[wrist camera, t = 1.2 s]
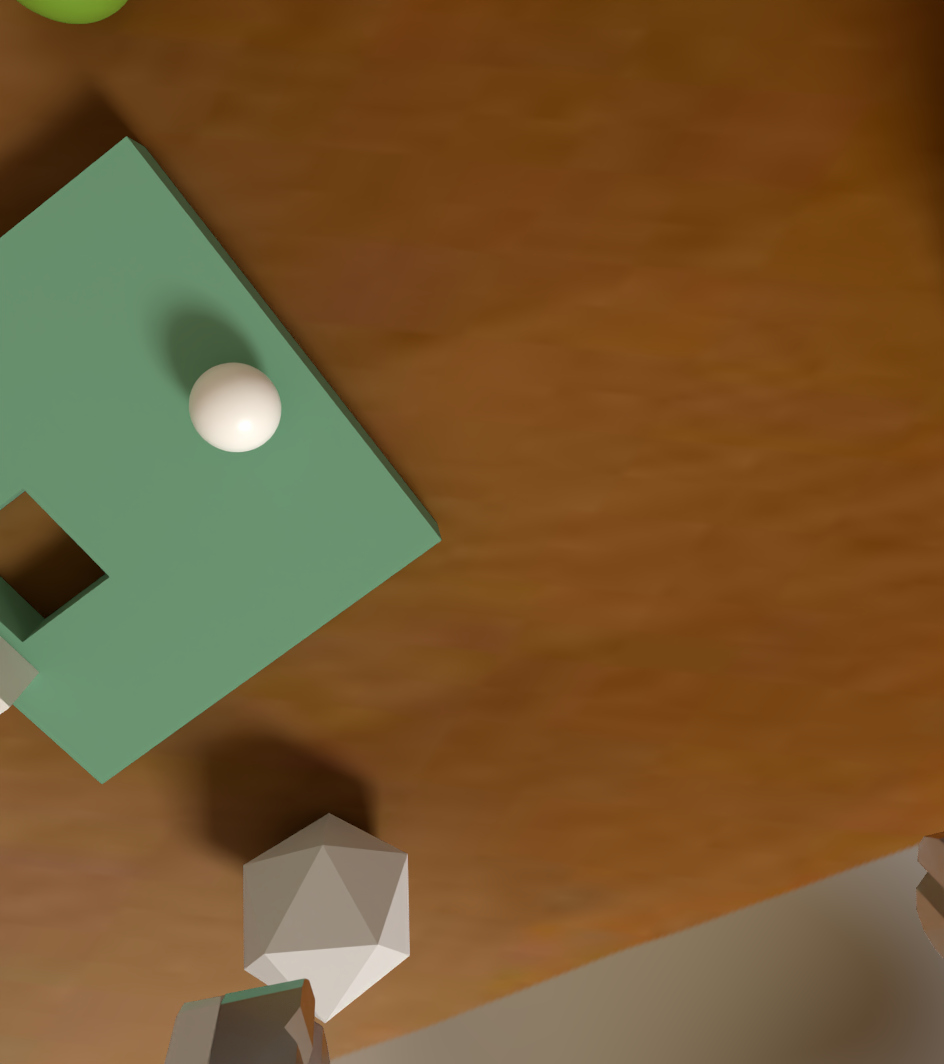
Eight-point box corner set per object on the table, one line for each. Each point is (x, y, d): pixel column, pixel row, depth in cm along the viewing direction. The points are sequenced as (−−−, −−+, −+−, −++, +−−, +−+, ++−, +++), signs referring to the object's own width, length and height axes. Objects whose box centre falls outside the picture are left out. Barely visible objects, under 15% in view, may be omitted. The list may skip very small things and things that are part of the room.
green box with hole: (144, 147, 31) (100, 120, 26) (437, 523, 38) (447, 562, 33) (-222, 440, 33) (-332, 470, 28) (118, 754, 39) (79, 826, 34)
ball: (247, 340, 32) (233, 348, 28) (302, 410, 33) (295, 424, 30) (180, 392, 32) (158, 404, 29) (237, 459, 33) (223, 478, 30)
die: (220, 825, 42) (200, 1036, 37) (305, 779, 37) (296, 1016, 32) (348, 839, 47) (346, 1028, 42) (438, 800, 42) (450, 1009, 36)
